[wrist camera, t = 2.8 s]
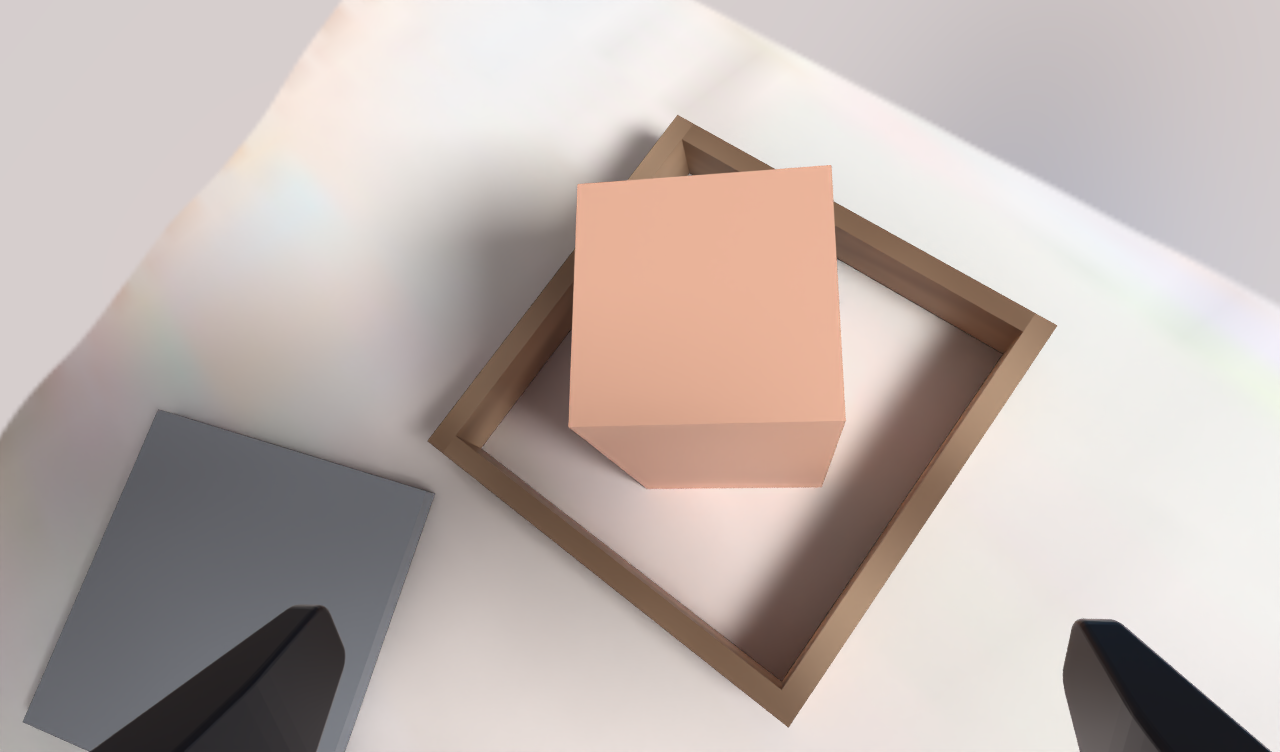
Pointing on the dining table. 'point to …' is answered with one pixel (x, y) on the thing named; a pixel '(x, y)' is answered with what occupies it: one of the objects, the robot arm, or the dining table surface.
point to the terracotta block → (709, 328)
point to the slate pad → (225, 574)
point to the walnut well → (1020, 345)
